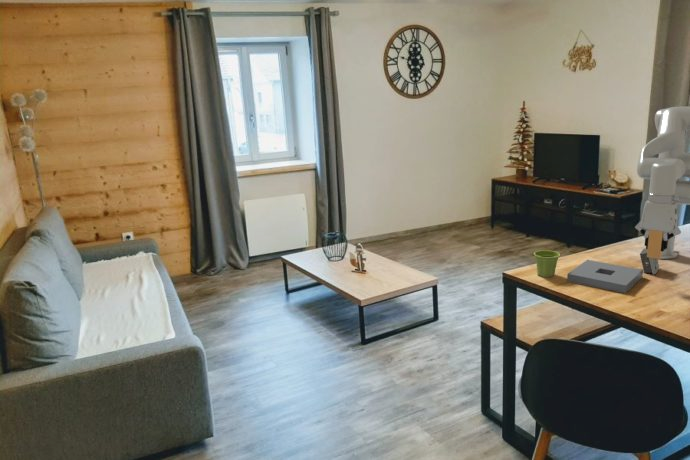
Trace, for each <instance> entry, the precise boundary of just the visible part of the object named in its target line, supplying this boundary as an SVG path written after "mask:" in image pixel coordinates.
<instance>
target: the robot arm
mask: <svg viewBox="0 0 690 460" xmlns="http://www.w3.org/2000/svg"><path fill="white" fill-rule="evenodd" d="M655 112H656V113H655V115H654V123H655V124H654V125H655V128H656V132H657V135H656V136H657V137H655V138H653V139H651V140H650V141H648V143H646V144H645V145H644V146H643V147H642V149H641V151H640V152H639V157H638V161H637V167H636V172H637V173H636V174H637V175H638V177H639V178H640V179H644V180H649V188H648V197H647V200H646V201H645V203H644V206H643V210H642V215H641V220H639V222H638V223H637V224H636V225H635V226H634V228H635V229H636V230H637V231H639V233H640V234H642V236H643V238H644V246H645V248H644V249H648V239H649V230H655V231H663V240H662V245H661V251H662V252H663V256H662V257H661V258H660V259H661V260H662V259H663V260H669V259H671V260H673V259H675V258H677V257H678V252H676V250H674V249H675V242H676V236H679V235H681V233H682V231H681V228H680V227H679V226H678V225H677V223H678V207H677V206H678V205H686V206H690V180H682V179H681V178H688V179H690V152H685V148H686V146H685V145H686V139H685V136H686V131H690V106H671V107H668V108H662V109H659V110H657V111H655ZM656 155H658V157H654V156H656ZM680 179H681V180H680ZM660 259H659V260H660Z"/></svg>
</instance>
